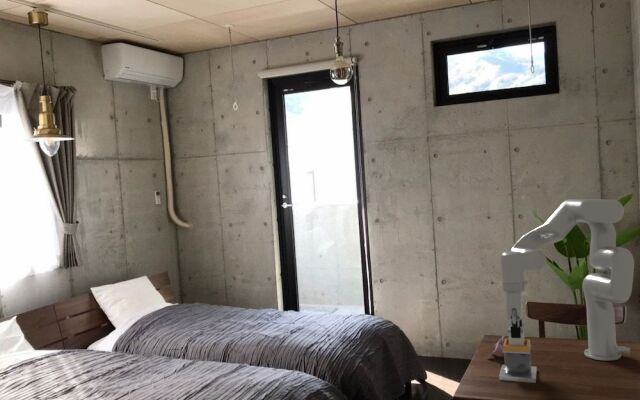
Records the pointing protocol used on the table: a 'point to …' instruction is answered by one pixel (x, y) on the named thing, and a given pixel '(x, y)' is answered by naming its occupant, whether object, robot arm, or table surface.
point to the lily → (499, 345)
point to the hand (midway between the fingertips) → (516, 333)
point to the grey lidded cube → (516, 340)
